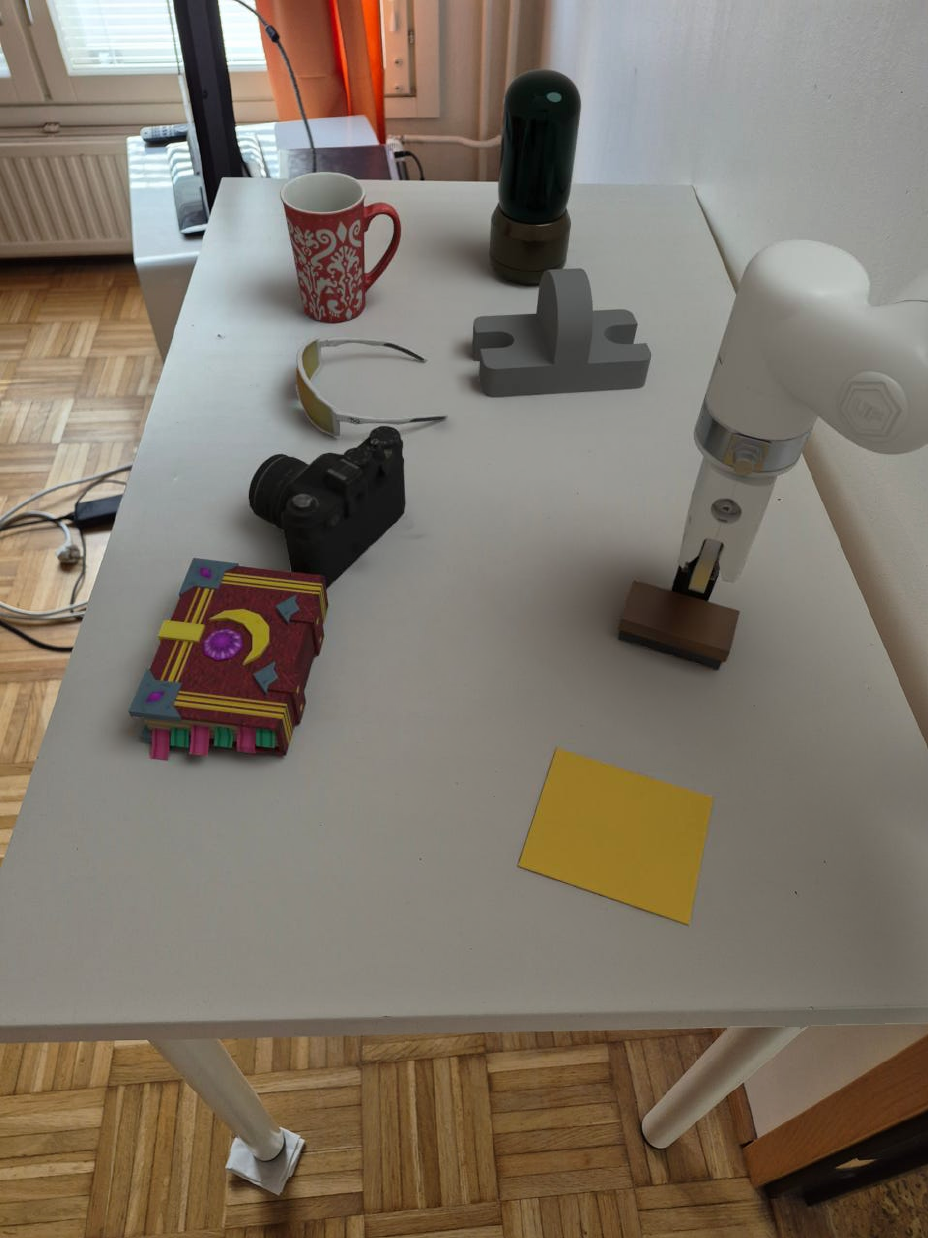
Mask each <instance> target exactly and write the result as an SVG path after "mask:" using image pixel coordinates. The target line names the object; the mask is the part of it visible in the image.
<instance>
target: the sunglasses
mask: <svg viewBox="0 0 928 1238" xmlns="http://www.w3.org/2000/svg"><path fill="white" fill-rule="evenodd" d="M346 344H361V345H367V346H371V347H385V348H390V349H392V350H395V351H398V352H402V353H403V354H406V355H408V356H410V357H412V358H414V359H415V360H418V361H420V362H421V363H425V362H427V361H428V358H427V357H425V356H423V355H422V354H420V353H418V352H416V351H414V350H413V349H411V348H409V347H407V346H404V345H402V344H399V343H397V342H393V341H389V340H386V339H377V338H365V337H350V336H349V337H347V336H336V337H335V336H333V337H314V336H312V337H311V338H309V339H308V340H306V341H305V342H302V344H301V345H300V347H299V349H298V350H297V353H296V383H295V391H296V394H297V397H298V400H299V402H300V405H301V407H302V409H303V412H304V414H305V415H306V416H307V418H308V420H309V422H310V423H312V424H313V426H314V427H315V428H317V429H318V430H319V431H321V432H323V433H324V434H326V435H328V436H331V437H340V436H341V423H340V422H345V423H349V424H352V425H364V424H387V425H397V426H400V425H404V424H411V423H423V422H424V423H425V422H435V421H436V422H437V421H444V420H445V419H447V418H448V417H449V416H450V415H449V413H443V414H429V415H428V414H427V415H409V416H405V417H375V416H368V415H362V414H357V413H352V412H346V411H342V410H339V409H338V407H336V406H335V405H333V404H332V403H331V402H329V401H328V400H327V399H325V398H324V397H323V396H322V395H321V393H320V391H319V390H318V388H316V387H315V386H314V384H313V381H314V379H315V378H316V377H317V376H318V374H319V372H320V371H321V370H322V368H323V359H322V358H323V357H322V349H321V348H327V347H328V348H329V347H331V348H332V347H334V348H335V347H338V346H341V345H346Z"/></svg>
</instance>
